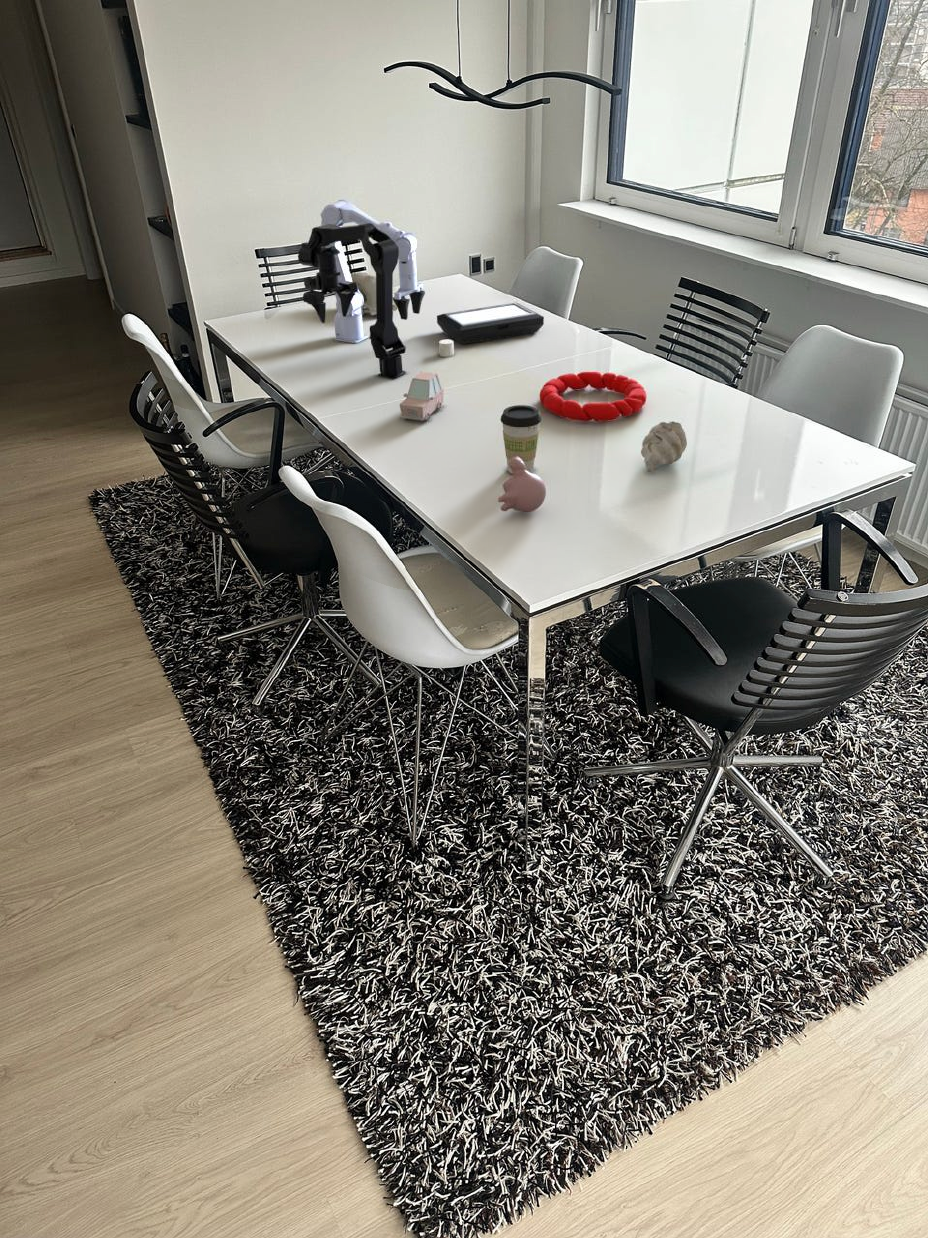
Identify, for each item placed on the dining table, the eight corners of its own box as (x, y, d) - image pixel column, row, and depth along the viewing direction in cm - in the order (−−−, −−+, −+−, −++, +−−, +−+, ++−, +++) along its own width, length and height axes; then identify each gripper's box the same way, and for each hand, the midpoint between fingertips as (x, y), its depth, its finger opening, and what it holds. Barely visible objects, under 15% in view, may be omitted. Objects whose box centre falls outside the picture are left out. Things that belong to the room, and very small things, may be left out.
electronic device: (459, 327, 297) (436, 313, 313) (460, 346, 301) (437, 331, 316) (543, 314, 308) (517, 300, 323) (543, 332, 311) (517, 318, 326)
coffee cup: (511, 481, 215) (511, 422, 206) (494, 465, 222) (493, 408, 214) (547, 473, 218) (549, 414, 209) (529, 458, 225) (530, 401, 217)
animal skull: (363, 342, 338) (386, 304, 323) (318, 293, 338) (340, 252, 323) (389, 330, 349) (414, 293, 335) (347, 283, 350) (369, 244, 335)
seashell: (697, 464, 220) (702, 426, 214) (648, 478, 214) (652, 439, 208) (671, 449, 227) (675, 412, 222) (623, 462, 222) (626, 424, 216)
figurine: (490, 509, 203) (489, 460, 196) (532, 497, 207) (532, 449, 201) (510, 525, 197) (510, 475, 190) (552, 512, 201) (554, 463, 194)
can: (439, 352, 297) (438, 339, 295) (453, 351, 297) (452, 338, 295) (440, 357, 293) (439, 344, 291) (454, 356, 293) (454, 343, 291)
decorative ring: (525, 401, 245) (634, 402, 234) (555, 365, 268) (655, 365, 258) (527, 426, 249) (634, 428, 238) (556, 389, 272) (655, 390, 261)
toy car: (396, 421, 248) (393, 386, 242) (418, 402, 260) (416, 368, 254) (427, 425, 245) (425, 390, 239) (448, 405, 257) (447, 371, 251)
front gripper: (332, 259, 287) (338, 309, 296) (288, 271, 276) (295, 322, 284) (356, 263, 281) (361, 314, 290) (312, 276, 269) (318, 328, 278)
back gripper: (406, 280, 285) (408, 323, 293) (429, 270, 296) (431, 311, 303) (387, 278, 288) (390, 320, 296) (411, 268, 299) (414, 309, 306)
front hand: (334, 319), depth 286 cm, fingers open, 9 cm apart
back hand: (410, 316), depth 300 cm, fingers open, 7 cm apart
